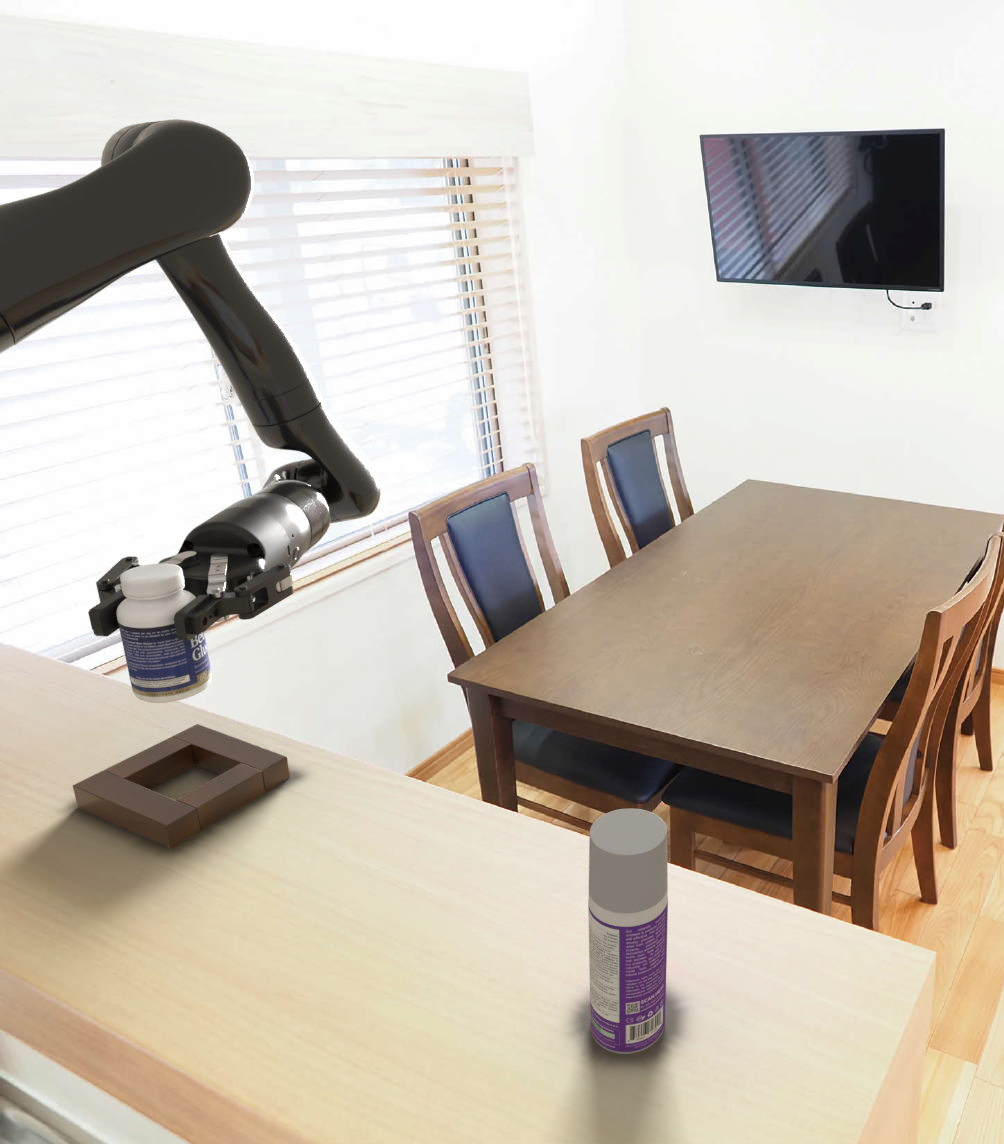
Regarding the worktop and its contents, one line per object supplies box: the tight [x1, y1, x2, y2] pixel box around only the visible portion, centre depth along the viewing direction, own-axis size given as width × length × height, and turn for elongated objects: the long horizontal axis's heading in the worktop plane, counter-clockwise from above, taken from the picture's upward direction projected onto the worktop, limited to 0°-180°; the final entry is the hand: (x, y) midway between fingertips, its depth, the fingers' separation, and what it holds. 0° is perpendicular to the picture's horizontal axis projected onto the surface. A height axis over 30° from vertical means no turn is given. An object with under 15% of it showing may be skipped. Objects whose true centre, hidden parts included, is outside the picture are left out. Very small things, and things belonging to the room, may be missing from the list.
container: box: [587, 808, 669, 1055], centre depth 58 cm, size 5×5×15 cm
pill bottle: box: [116, 562, 213, 704], centre depth 74 cm, size 5×5×10 cm
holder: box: [72, 723, 291, 850], centre depth 80 cm, size 11×11×2 cm
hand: (139, 626), depth 71 cm, fingers closed on pill bottle, 5 cm apart
